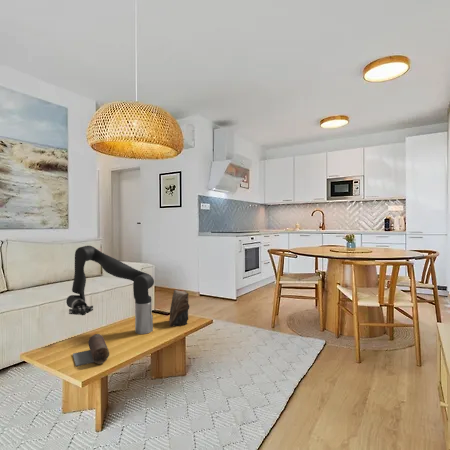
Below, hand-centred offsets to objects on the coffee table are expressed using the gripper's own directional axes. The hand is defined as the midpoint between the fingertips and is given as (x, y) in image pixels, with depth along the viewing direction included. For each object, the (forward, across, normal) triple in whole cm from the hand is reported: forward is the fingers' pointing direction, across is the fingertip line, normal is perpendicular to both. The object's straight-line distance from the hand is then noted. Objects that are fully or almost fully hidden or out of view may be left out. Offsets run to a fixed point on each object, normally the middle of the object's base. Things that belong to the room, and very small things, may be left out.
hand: (83, 313), depth 164 cm
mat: (+22, -2, +16) cm, 27 cm away
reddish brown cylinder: (+13, +4, +11) cm, 18 cm away
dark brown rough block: (-1, +53, +16) cm, 56 cm away
